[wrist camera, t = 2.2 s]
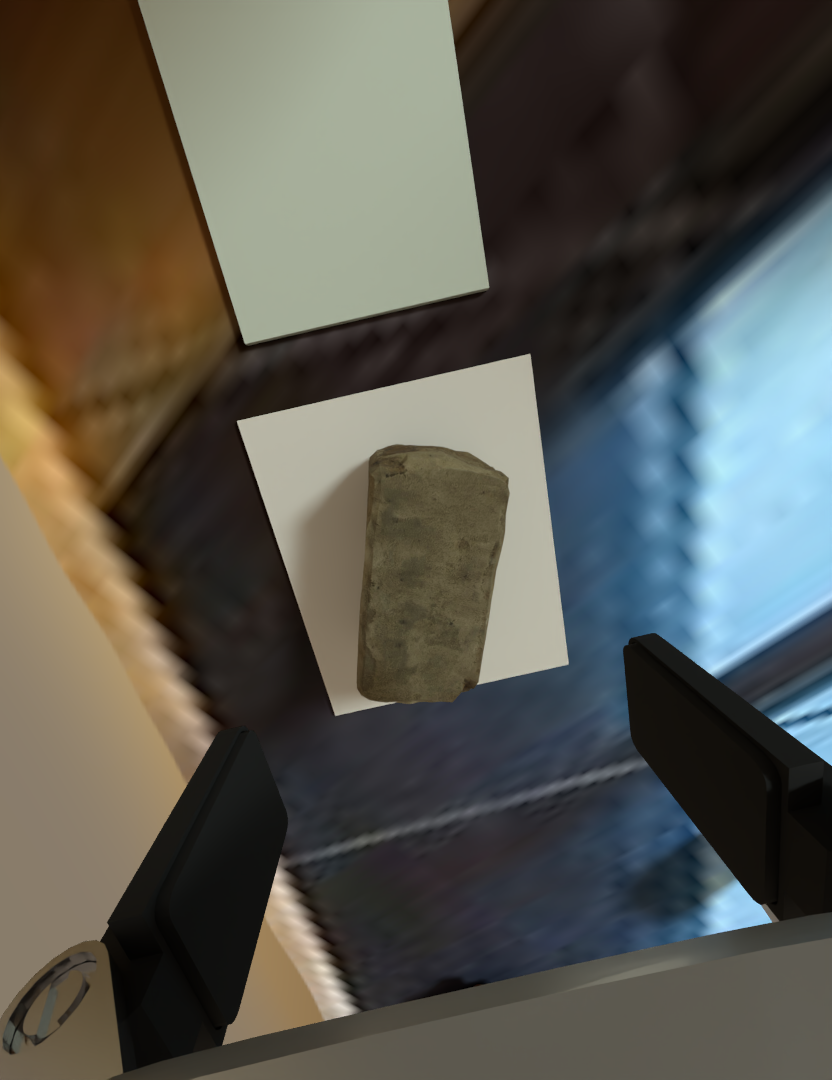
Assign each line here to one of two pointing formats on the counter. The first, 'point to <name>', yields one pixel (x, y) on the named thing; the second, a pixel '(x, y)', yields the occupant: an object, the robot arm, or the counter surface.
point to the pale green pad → (324, 154)
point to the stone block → (428, 572)
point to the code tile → (341, 509)
